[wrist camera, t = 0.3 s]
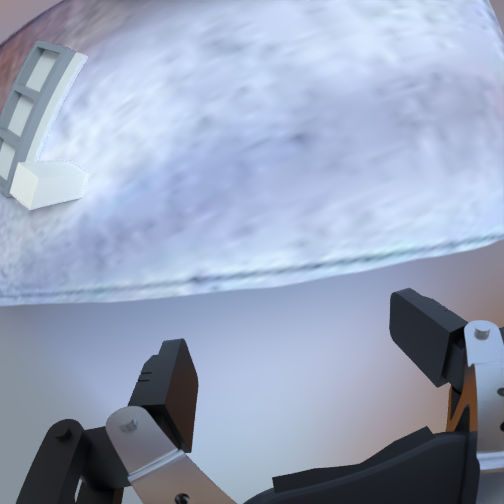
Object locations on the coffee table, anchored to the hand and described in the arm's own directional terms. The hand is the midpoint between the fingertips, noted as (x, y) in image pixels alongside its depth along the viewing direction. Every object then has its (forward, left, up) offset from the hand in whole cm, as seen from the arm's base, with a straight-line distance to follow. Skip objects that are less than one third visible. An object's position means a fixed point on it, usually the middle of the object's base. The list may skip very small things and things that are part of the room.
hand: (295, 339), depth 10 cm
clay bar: (+7, -24, -22) cm, 34 cm away
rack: (+3, -38, -22) cm, 44 cm away
